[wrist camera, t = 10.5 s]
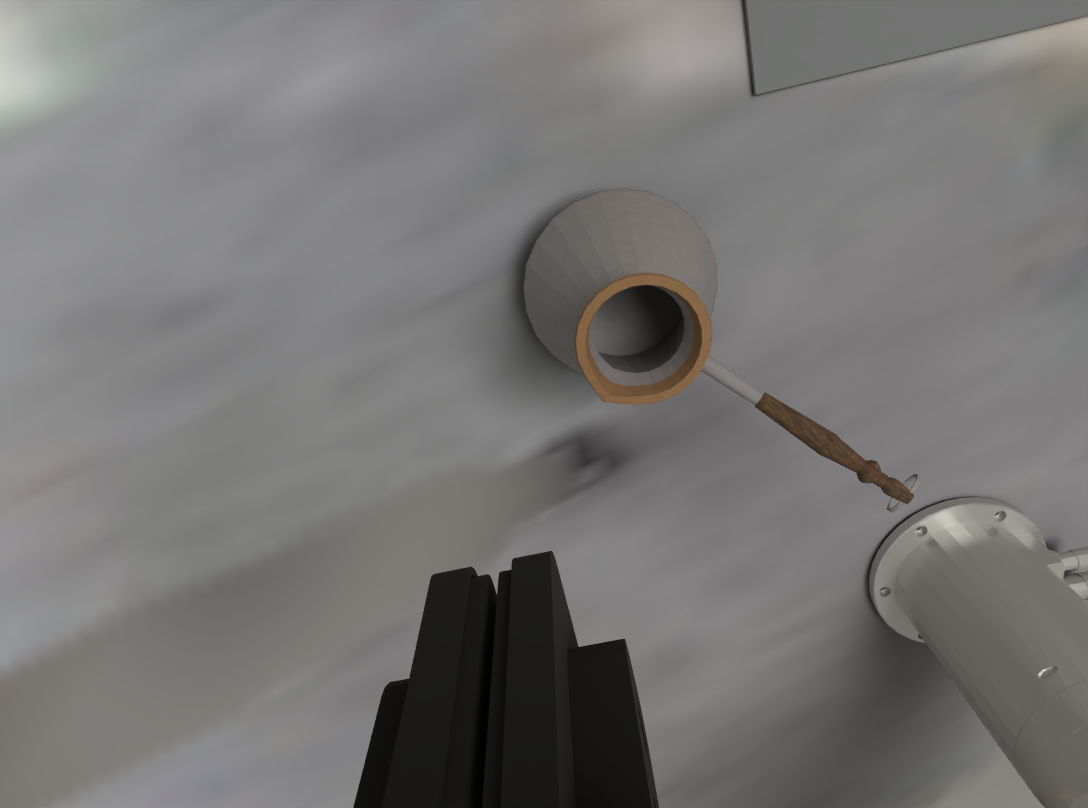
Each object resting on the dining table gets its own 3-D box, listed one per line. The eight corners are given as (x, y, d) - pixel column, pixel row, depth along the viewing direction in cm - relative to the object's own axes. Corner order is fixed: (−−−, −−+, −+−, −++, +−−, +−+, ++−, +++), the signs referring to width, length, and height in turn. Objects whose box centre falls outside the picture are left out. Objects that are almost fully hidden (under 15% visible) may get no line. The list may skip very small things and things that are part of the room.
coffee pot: (491, 310, 46) (473, 402, 33) (584, 145, 43) (608, 170, 29) (760, 457, 51) (845, 593, 37) (867, 319, 47) (1005, 413, 33)
